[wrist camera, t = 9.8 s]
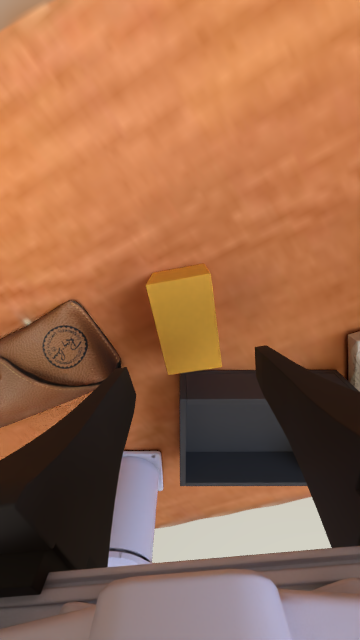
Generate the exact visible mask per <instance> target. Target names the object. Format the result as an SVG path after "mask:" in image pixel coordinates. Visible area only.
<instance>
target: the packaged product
mask: <svg viewBox="0 0 360 640" xmlns="http://www.w3.org/2000/svg"><path fill="white" fill-rule="evenodd" d="M348 381H349V382H350V383H351V384H352V385H353V386H354V387H355V388H356V389H357V390H358V391H360V331H359V332H355V333H352V334H348Z"/></svg>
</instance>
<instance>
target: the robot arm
mask: <svg viewBox="0 0 360 640" xmlns="http://www.w3.org/2000/svg"><path fill="white" fill-rule="evenodd" d="M255 362H256V378H257V381H258V383H259V386H260V388H261V391H262V393H263V395H264V397H265V399H266V401H267V402H268V404H269V406H270V408H271V410H272V412H273V413H274V415H275V417H276V419H277V420H278V422H279V424H280V426H281V428H282V429H283V431H284V433H285V435H286V437H287V439H288V441H289V443H290V446H291V448H292V450H293V453H294V455H295V457H296V459H297V462H298V464H299V466H300V469H301V471H302V474H303V476H304V478H305V481H306V483H307V486H308V488H309V491H310V493H311V496H312V498H313V500H314V503H315V505H316V508H317V510H318V513H319V516H320V518H321V521H322V523H323V526H324V529H325V531H326V534H327V537H328V539H329V542H330V544H331V547H332V548H328V549H316V550H305V551H293V552H281V553H270V554H259V555H246V556H235V557H223V558H211V559H199V560H188V561H177V562H164V563H152V552H153V540H154V528H155V516H156V504H157V493H158V491H161V490H163V474H162V458H161V452H159V451H124V448H125V444H126V440H127V437H128V433H129V429H130V425H131V422H132V418H133V414H134V408H135V401H136V393H135V390H134V387H133V384H132V381H131V378H130V375H129V372H128V369H127V367H124V368H117V369H115V370H114V371H113V372H112V373H111V374H110V375H109V376H108V377H107V378H106V379H105V380H104V381H103V382H102V383H101V384H100V385H99V386H98V387H97V388H96V389H95V390H94V391H93V392H92V393H91V394H90V395H89V396H88V397H87V398H86V399H85V400H84V401H82V402H81V403H80V404H79V405H78V406H77V407H76V408H75V409H74V410H73V411H71V412H70V413H69V414H68V415H67V416H65V417H64V418H63V419H62V420H60V421H59V422H58V423H56V424H55V425H54V426H52V427H51V428H50V429H48V430H47V431H45V432H44V433H43V434H41V435H40V436H38V437H37V438H35V439H34V440H33V441H31V442H30V443H28V444H26V445H25V446H23V447H22V448H20V449H19V450H17V451H15V452H14V453H12V454H10V455H9V456H7V457H5V458H4V459H2V460H0V640H360V392H357V391H354V390H352V389H349V388H347V387H344V386H342V385H339V384H337V383H335V382H332V381H330V380H328V379H325V378H323V377H321V376H319V375H317V374H315V373H313V372H311V371H309V370H307V369H305V368H303V367H302V366H300V365H298V364H296V363H295V362H293V361H291V360H289V359H288V358H286V357H284V356H283V355H281V354H280V353H278V352H276V351H275V350H273V349H272V348H270V347H268V346H259V347H255Z"/></svg>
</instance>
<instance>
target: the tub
mask: <svg viewBox="0 0 360 640" xmlns="http://www.w3.org/2000/svg"><path fill="white" fill-rule="evenodd" d="M309 371H311V372H313V373H315V374H317V375H319V376H321V377H323V378H325V379H328V380H330V381H332V382H335V383H337V384H339V385H342V386H344V387H347V388H349V389H352V390H354V391H357V392H360V391H358V390H357V389H356V388H355V387H354V386H353V385H352V384H351V383H350V382H349V381H348V380H347V379H345V378H344V377H343V376H342V375H341V374H340V373H339V372H338V371H337V370H309ZM185 485H186V486H307V483H306V481H305V478H304V476H303V474H302V471H301V469H300V466H299V464H298V462H297V459H296V457H295V455H294V453H293V450H292V448H291V446H290V443H289V441H288V439H287V437H286V435H285V433H284V431H283V429H282V428H281V426H280V424H279V422H278V420H277V419H276V417H275V415H274V413H273V412H272V410H271V408H270V406H269V404H268V402H267V401H266V399H265V397H264V395H263V393H262V391H261V388H260V386H259V383H258V381H257V378H256V370H199V371H192V372H186V373H180V486H185Z"/></svg>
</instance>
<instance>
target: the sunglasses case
mask: <svg viewBox="0 0 360 640" xmlns="http://www.w3.org/2000/svg"><path fill="white" fill-rule="evenodd" d="M117 368H121V361H120V357H119V355H118V354H117V353H116V351H115V350H114V348H113V346H112V345H111V344H110V342H109V341H108V339H107V338H106V336H105V335H104V334H103V332H102V331H101V330H100V328H99V327H98V326H97V325H96V323H95V322H94V321H93V320H92V318H91V317H90V316H89V315H88V313H87V312H86V311H85V310H84V308H83V307H82V306H81V305H80V304H78V303H77V302H75V301H72V300H71V301H68V302H66V303H64V304H62V305H61V306H59V307H57V308H56V309H54V310H53V311H51V312H49V313H48V314H46V315H44V316H43V317H41V318H40V319H38V320H37V321H35V322H33V323H32V324H30V325H28V326H26V327H24V328H22V329H20V330H19V331H16V332H14V333H13V334H10V335H8V336H6V337H4V338H2V339H0V428H1V427H4V426H7V425H9V424H12V423H15V422H17V421H20V420H22V419H25V418H27V417H30V416H33V415H35V414H38V413H40V412H43V411H45V410H48V409H51V408H53V407H55V406H58V405H61V404H63V403H65V402H68V401H70V400H73V399H75V398H77V397H80V396H82V395H84V394H87V393H89V392H91V391H93V390H95V389H96V388H97V387H98V386H99V385H100V384H101V383H102V382H103V381H104V380H105V379H106V378H107V377H108V376H109V375H110V374H111V373H112V372H113V371H114V370H115V369H117Z"/></svg>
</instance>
